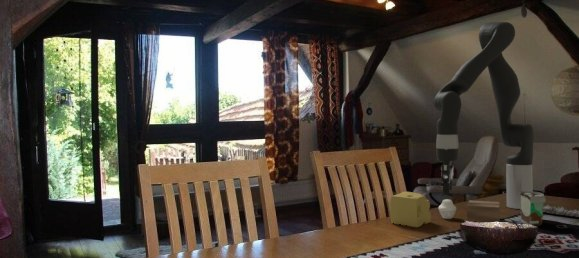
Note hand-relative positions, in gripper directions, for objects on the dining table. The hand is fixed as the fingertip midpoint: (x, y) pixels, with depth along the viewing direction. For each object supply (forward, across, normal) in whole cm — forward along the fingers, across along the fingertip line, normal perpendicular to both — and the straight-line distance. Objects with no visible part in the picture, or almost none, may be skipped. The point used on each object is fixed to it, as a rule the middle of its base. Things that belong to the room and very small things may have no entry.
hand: (447, 191), depth 159 cm
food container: (+10, -3, +28) cm, 30 cm away
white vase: (+10, -1, 0) cm, 10 cm away
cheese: (+10, +11, -11) cm, 19 cm away
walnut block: (+10, 0, +12) cm, 15 cm away
